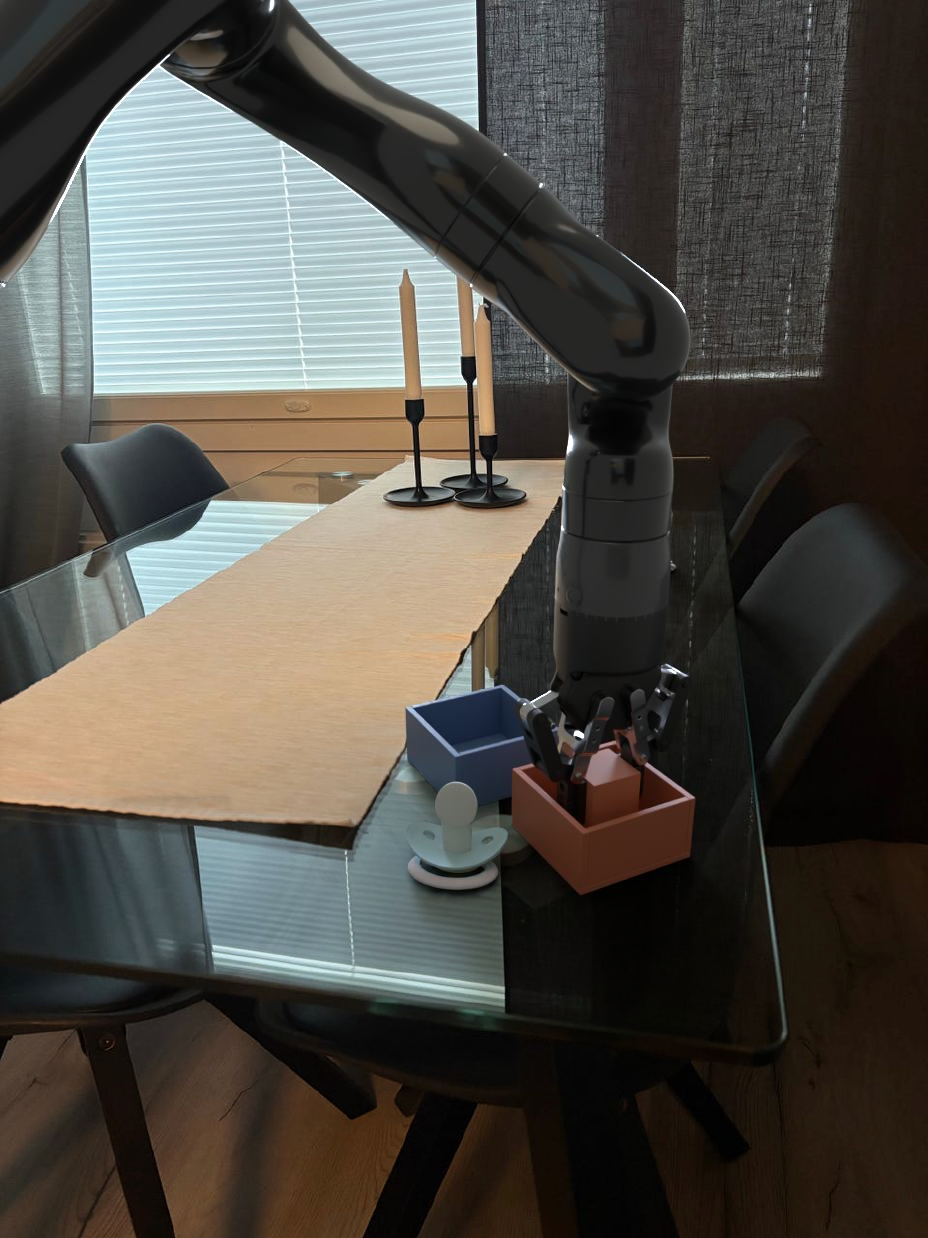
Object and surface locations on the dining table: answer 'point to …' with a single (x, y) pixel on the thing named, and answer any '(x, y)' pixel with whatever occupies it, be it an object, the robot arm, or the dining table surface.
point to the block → (610, 788)
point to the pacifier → (454, 842)
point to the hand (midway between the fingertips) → (599, 810)
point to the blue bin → (469, 742)
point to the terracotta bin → (604, 829)
